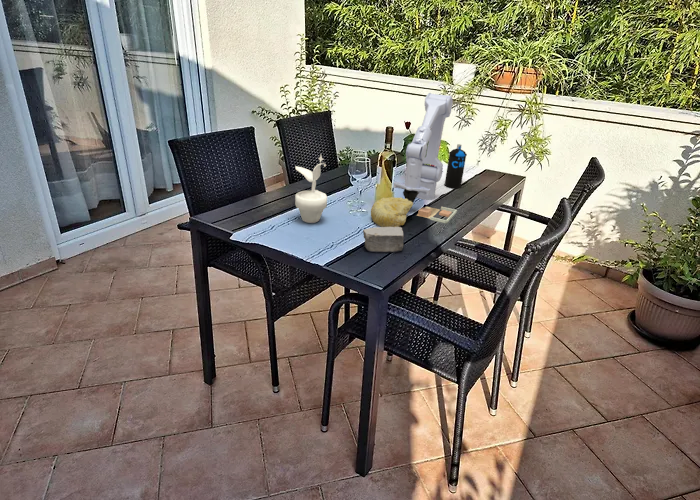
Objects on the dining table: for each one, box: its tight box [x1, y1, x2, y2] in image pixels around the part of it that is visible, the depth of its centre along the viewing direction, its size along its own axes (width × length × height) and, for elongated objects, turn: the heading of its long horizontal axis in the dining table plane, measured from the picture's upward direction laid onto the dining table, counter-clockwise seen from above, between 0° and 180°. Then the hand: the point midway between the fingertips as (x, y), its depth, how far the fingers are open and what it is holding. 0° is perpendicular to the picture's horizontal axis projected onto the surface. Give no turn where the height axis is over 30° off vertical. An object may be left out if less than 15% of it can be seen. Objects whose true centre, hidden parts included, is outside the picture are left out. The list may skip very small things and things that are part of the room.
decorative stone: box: [362, 226, 404, 253], centre depth 150 cm, size 15×7×10 cm
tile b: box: [417, 207, 432, 218], centre depth 177 cm, size 4×4×2 cm
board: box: [416, 206, 441, 220], centre depth 180 cm, size 6×12×2 cm, turn 152°
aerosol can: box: [443, 143, 467, 190], centre depth 213 cm, size 8×8×20 cm
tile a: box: [438, 209, 453, 218], centre depth 179 cm, size 4×4×2 cm
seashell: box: [370, 196, 414, 227], centre depth 169 cm, size 17×11×15 cm
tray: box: [429, 206, 458, 225], centre depth 177 cm, size 6×14×2 cm, turn 152°
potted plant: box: [294, 155, 328, 224], centre depth 164 cm, size 13×12×25 cm
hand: (409, 208), depth 179 cm, fingers closed
